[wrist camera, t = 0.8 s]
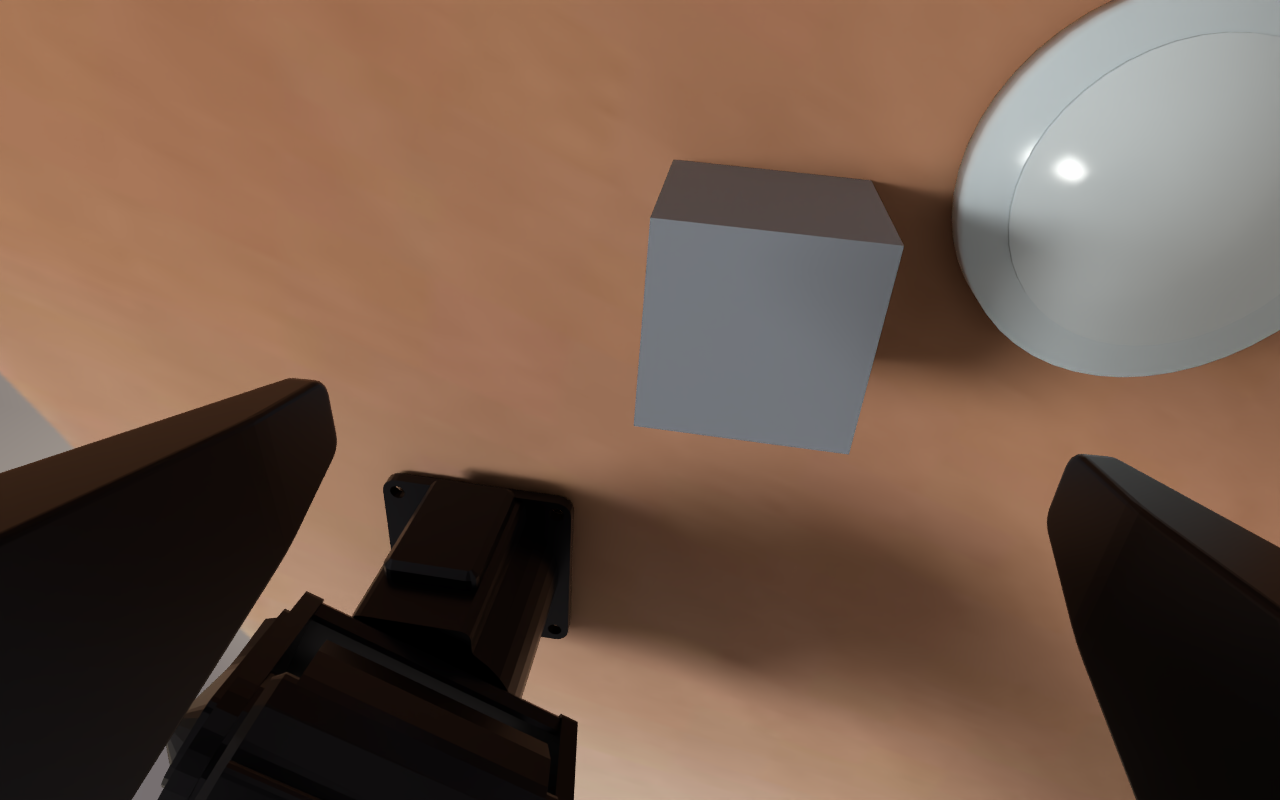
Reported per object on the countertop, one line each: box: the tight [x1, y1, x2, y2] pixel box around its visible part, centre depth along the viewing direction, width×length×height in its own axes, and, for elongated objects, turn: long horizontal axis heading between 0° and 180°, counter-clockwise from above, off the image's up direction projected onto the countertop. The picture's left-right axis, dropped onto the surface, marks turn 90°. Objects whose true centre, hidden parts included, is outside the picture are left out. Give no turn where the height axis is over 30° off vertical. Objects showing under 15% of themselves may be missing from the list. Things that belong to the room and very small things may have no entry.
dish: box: [952, 0, 1280, 377], centre depth 17 cm, size 9×9×1 cm
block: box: [634, 160, 904, 454], centre depth 18 cm, size 5×5×5 cm
